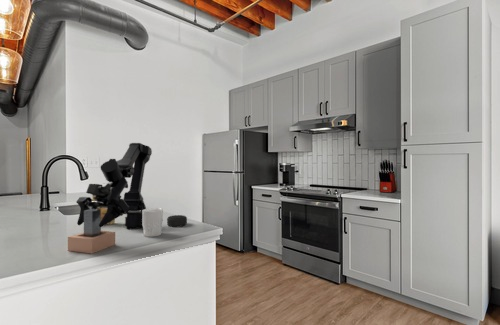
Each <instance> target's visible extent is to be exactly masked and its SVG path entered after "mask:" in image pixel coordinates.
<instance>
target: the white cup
mask: <svg viewBox="0 0 500 325" xmlns="http://www.w3.org/2000/svg"><path fill="white" fill-rule="evenodd" d="M163 213H164V210H163V208H158V207H157V208H156V207H154V208H146V209H144V210H142V226H143V228H142V229H143V237H147V238H151V237H152V238H154V237H158V236H161V235H162V228H163V215H164V214H163Z"/></svg>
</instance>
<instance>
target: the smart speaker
mask: <svg viewBox="0 0 500 325" xmlns="http://www.w3.org/2000/svg"><path fill="white" fill-rule="evenodd" d="M187 224H188V217H187V216H186V215H183V214H177V215H170V216H168V217H167V218H166V225H168V227H171V226H172V228H176V227H177V226H180V227H183V226H186V225H187ZM177 228H178V227H177Z"/></svg>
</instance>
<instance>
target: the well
mask: <svg viewBox="0 0 500 325" xmlns="http://www.w3.org/2000/svg"><path fill="white" fill-rule="evenodd" d="M115 245H116V231H110V230H108V231H107V230H101V235H99V236H95V237H84V231H82V232H81V233H80V232H79V233H77V234H73V235H70V236H67V251H69V252H76V253H77V252H78V253H85V254H95V253H96V252H100V251H102V250H105V249H107V248H110V247H113V246H115Z"/></svg>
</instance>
